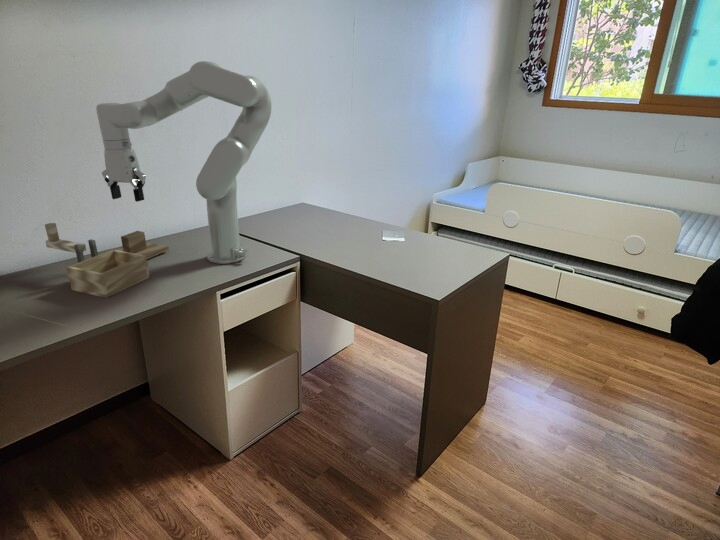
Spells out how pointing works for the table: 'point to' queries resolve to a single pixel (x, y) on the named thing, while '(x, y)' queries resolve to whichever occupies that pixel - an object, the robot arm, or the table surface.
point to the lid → (140, 245)
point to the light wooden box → (106, 271)
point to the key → (59, 240)
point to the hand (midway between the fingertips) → (128, 199)
